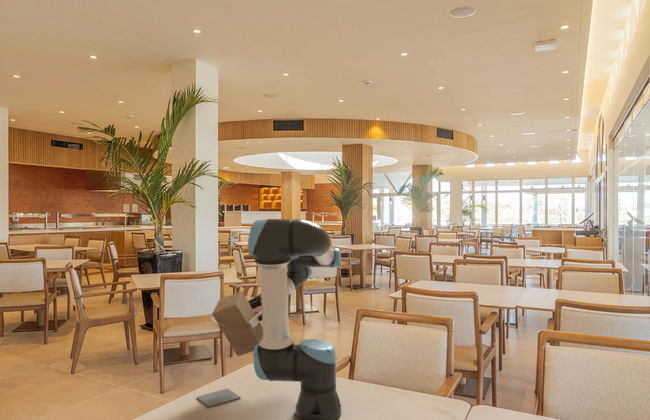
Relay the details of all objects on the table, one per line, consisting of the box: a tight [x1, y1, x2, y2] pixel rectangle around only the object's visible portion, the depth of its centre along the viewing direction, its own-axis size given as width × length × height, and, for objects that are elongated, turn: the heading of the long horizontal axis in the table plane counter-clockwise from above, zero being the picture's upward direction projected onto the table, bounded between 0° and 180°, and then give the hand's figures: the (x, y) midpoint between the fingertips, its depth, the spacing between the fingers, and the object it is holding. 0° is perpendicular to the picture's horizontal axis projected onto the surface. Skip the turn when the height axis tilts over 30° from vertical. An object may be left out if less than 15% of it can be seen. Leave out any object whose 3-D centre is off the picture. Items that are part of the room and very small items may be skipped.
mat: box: [196, 387, 241, 409], centre depth 166 cm, size 10×12×1 cm
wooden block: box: [211, 290, 263, 357], centre depth 173 cm, size 10×10×20 cm
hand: (240, 322), depth 174 cm, fingers closed on wooden block, 13 cm apart
